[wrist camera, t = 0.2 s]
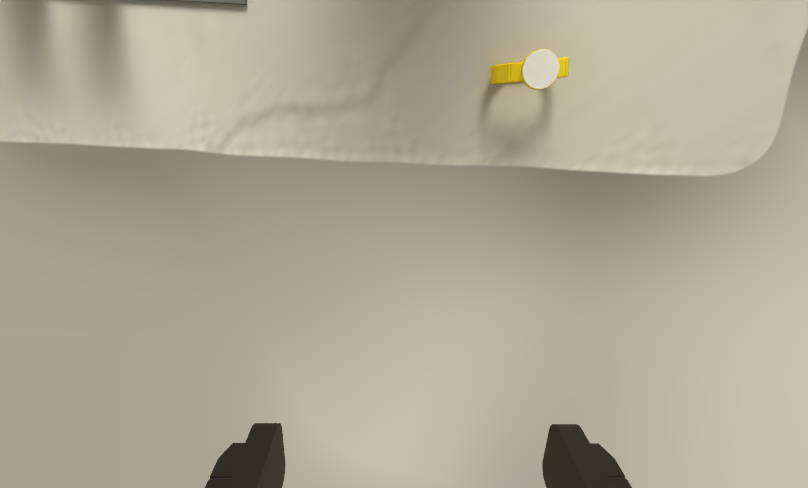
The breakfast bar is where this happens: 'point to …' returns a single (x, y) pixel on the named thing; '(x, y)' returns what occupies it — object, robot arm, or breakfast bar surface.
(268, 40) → the breakfast bar surface
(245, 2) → the mat
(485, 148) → the breakfast bar surface
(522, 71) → the watch
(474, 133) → the breakfast bar surface
